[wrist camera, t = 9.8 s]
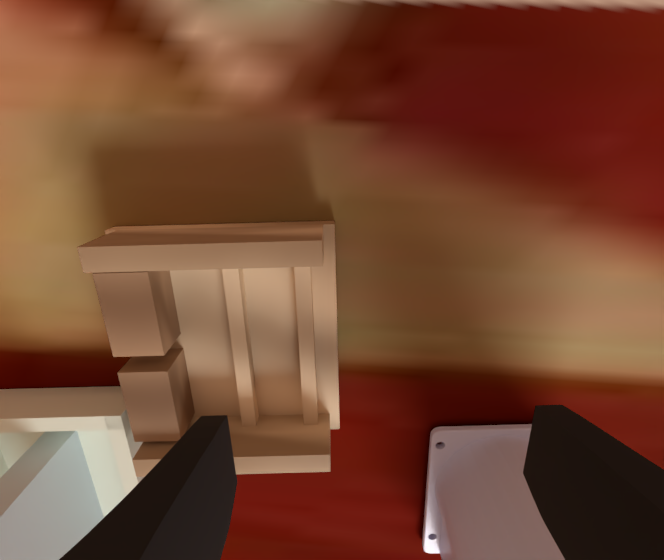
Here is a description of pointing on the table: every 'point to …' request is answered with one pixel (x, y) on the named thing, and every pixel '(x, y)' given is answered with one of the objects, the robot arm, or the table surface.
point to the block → (47, 500)
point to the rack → (247, 331)
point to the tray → (74, 415)
